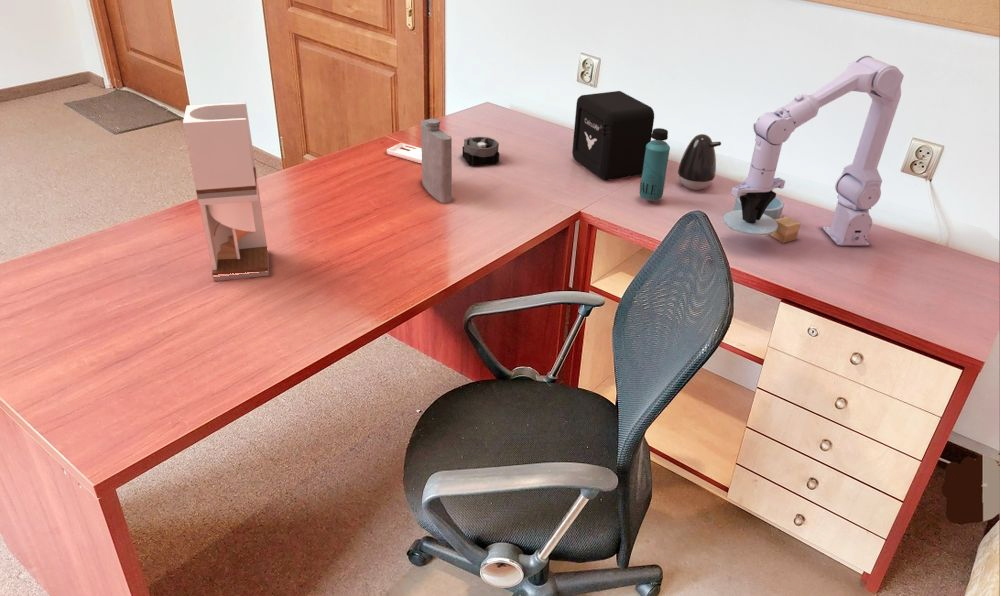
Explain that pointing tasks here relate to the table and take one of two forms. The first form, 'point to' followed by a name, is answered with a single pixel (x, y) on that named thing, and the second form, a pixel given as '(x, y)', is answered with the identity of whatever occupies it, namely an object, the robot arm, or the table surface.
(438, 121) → the hip flask
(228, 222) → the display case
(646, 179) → the beverage bottle
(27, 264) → the table surface
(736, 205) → the tin
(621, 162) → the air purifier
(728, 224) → the lid
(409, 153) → the phone case
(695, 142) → the pump dispenser
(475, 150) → the cpu cooler
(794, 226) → the block
